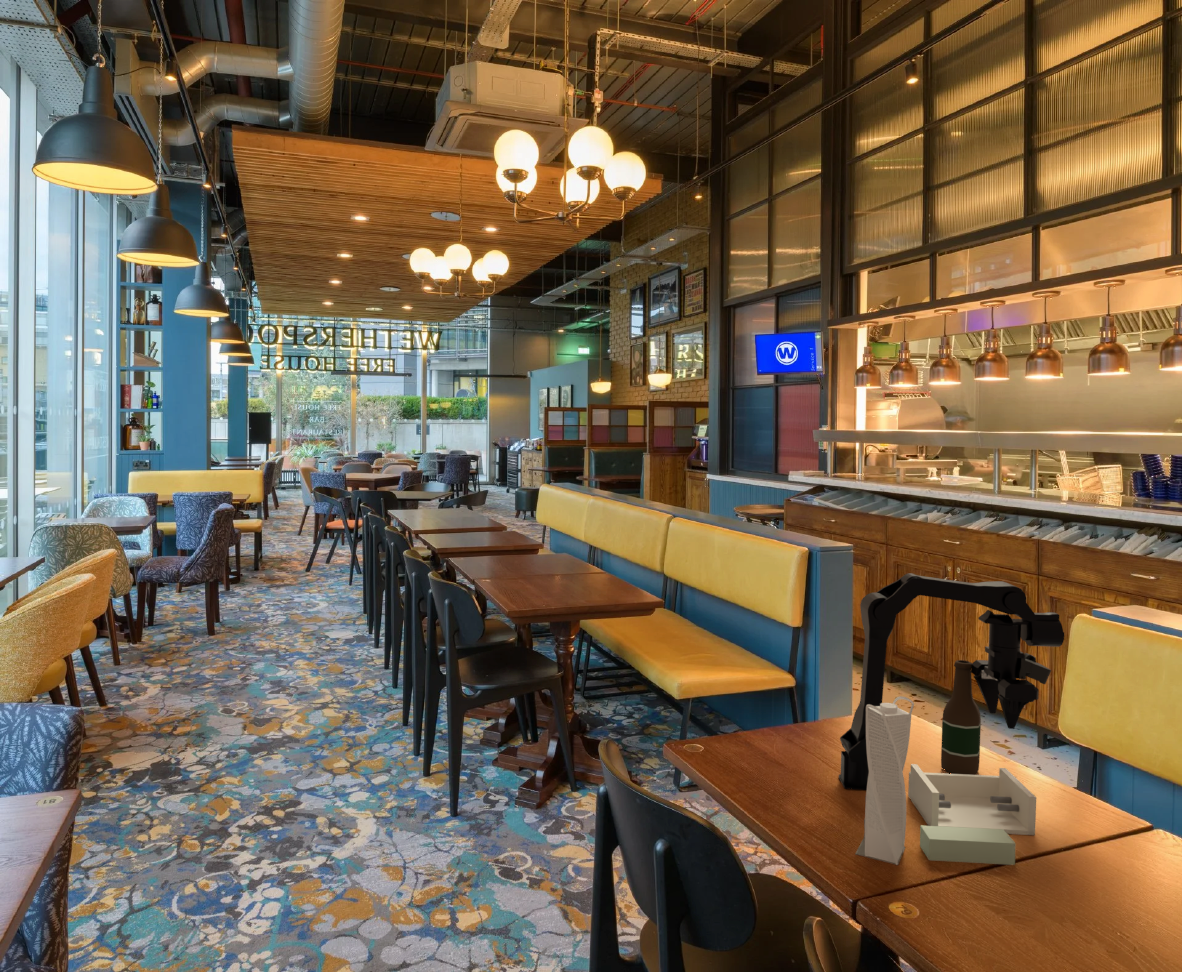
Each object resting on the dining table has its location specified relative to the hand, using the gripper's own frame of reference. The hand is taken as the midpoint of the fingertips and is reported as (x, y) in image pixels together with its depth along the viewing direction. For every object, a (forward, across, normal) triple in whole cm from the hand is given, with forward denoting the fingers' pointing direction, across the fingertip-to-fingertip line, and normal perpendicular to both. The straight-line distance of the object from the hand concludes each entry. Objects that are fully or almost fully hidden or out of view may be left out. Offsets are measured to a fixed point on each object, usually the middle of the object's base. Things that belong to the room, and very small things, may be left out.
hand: (1001, 720), depth 166 cm
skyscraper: (+15, -29, +30) cm, 45 cm away
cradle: (+15, -13, +10) cm, 22 cm away
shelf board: (+15, -28, +16) cm, 36 cm away
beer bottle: (+15, +10, +4) cm, 19 cm away
